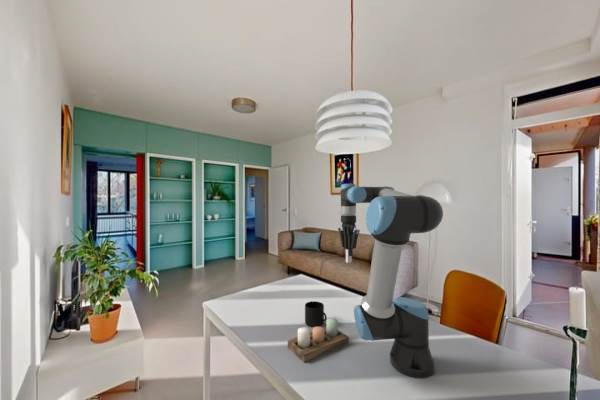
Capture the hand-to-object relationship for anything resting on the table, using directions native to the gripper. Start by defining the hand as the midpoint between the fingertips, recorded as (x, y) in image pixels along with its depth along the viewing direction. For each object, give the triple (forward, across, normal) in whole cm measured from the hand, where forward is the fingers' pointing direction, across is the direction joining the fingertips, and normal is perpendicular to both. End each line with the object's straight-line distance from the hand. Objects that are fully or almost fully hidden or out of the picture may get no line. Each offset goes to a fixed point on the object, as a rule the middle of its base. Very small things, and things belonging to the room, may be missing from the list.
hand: (348, 262), depth 126 cm
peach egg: (+30, -7, +25) cm, 39 cm away
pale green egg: (+28, -7, +17) cm, 33 cm away
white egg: (+28, -7, +32) cm, 43 cm away
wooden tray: (+30, -7, +25) cm, 40 cm away
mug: (+31, +9, +14) cm, 35 cm away
